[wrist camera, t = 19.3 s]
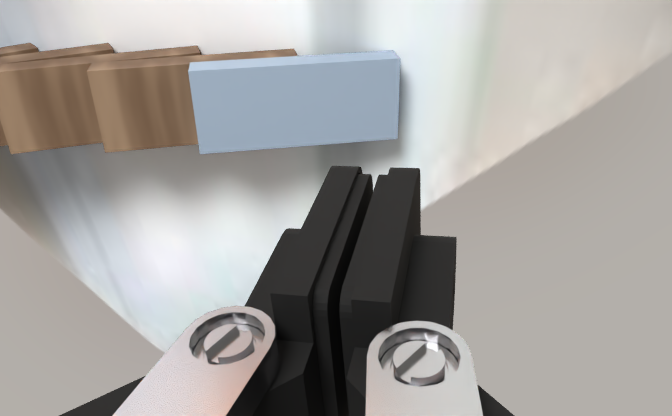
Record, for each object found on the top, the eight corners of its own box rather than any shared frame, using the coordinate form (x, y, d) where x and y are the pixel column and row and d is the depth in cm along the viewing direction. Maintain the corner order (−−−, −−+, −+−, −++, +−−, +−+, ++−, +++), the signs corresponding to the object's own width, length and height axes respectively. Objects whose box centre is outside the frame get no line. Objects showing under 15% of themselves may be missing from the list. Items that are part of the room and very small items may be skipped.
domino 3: (298, 56, 36) (86, 71, 34) (301, 134, 38) (105, 152, 36) (293, 48, 37) (91, 62, 35) (297, 124, 40) (109, 141, 38)
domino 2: (200, 52, 37) (-15, 73, 34) (210, 128, 39) (10, 154, 36) (197, 45, 38) (-9, 64, 35) (206, 119, 41) (15, 143, 38)
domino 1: (113, 49, 38) (-110, 78, 33) (128, 122, 40) (-78, 160, 36) (108, 42, 39) (-106, 70, 35) (123, 114, 42) (-76, 149, 37)
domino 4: (391, 128, 38) (201, 142, 37) (393, 50, 36) (190, 62, 35) (397, 138, 37) (200, 154, 35) (400, 58, 34) (188, 71, 33)
